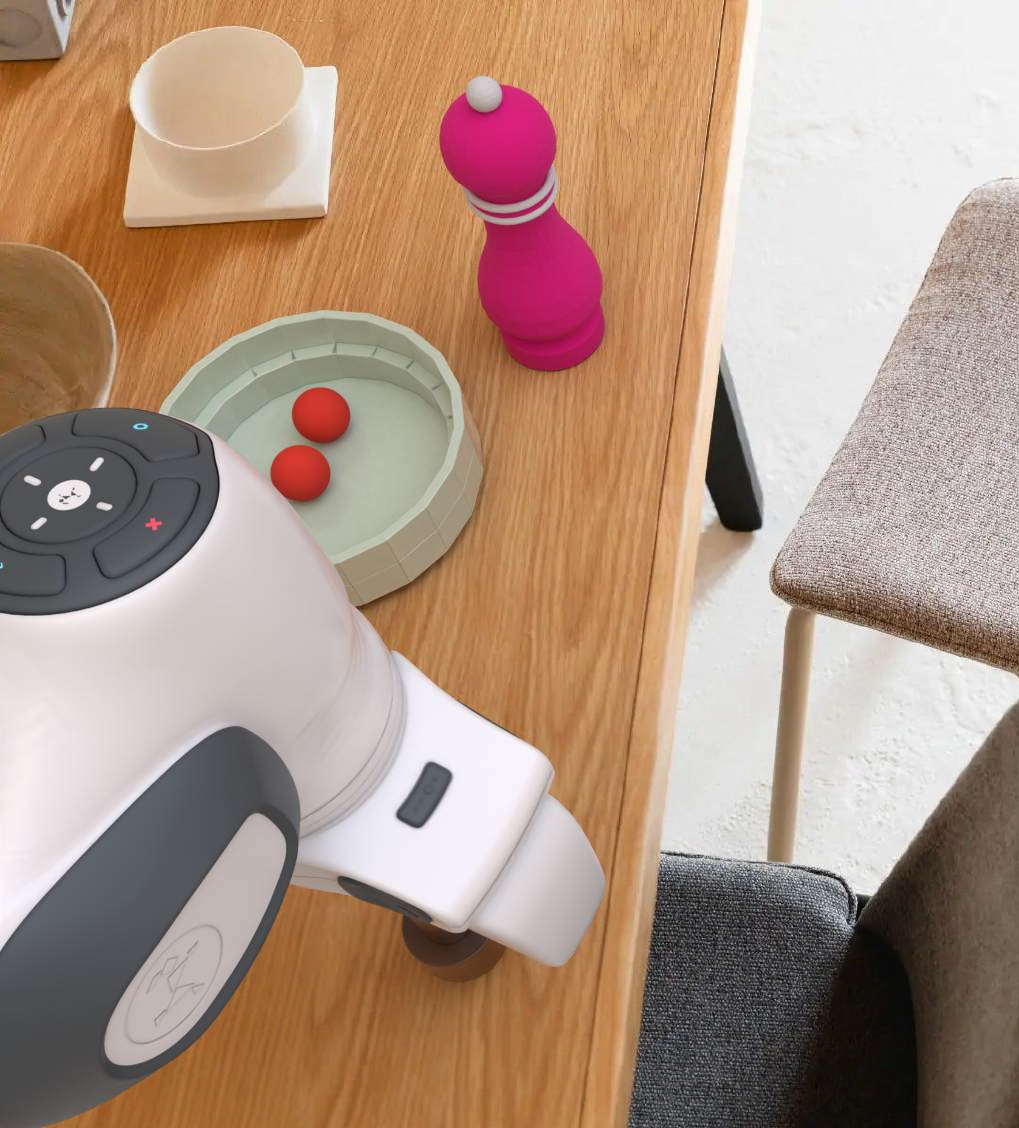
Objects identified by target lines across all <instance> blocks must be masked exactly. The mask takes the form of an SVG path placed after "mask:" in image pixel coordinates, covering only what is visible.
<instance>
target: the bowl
mask: <svg viewBox="0 0 1019 1128" xmlns="http://www.w3.org/2000/svg"><path fill="white" fill-rule="evenodd" d="M316 387H324V388H329V389H332V390H334V391H336V392H337V393H339V394H340V395H341V396H342V397H343V398H344V399H345V400H346V402H347V404H348V406H349V409H350V423H349V426H348V428H347V430H346V431H345V433H344V434H343V435H342V436H340V437H339V438H338V439H336V440H334V441H331V442H327V443H317V442H313V441H310V440H308V439H306V438H305V437H303V436H302V435H301V434H300V433H299V432H298V431H297V429H296V428H295V426H294V424H293V420H292V408H293V405H294V403H295V401H296V399H297V398H298V397H299V396H300V395H301V394H302V393H303V392H305V391H307V390H309V389H312V388H316ZM158 413H161V414H165V415H169V416H172V417H176V418H180V419H183V420H186V421H188V422H191V423H194V424H196V425H198V426H200V427H202V428H204V429H206V430H208V431H210V432H211V433H213V434H215V435H217V436H218V437H219V438H221V439H222V440H224V441H225V442H226V443H228V444H229V445H230V446H232V447H233V448H234V449H235V450H237V451H238V452H239V453H240V454H241V455H242V456H244V457H245V458H246V459H247V460H248V461H249V462H250V463H251V464H252V465H254V466H255V467H256V468H257V469H258V470H259V471H260V472H261V473H262V474H263V475H264V476H265V477H266V478H267V479H268V480H269V481H270V482H271V484H272V485H273V483H272V481H271V476H270V470H271V465H272V462H273V460H274V458H275V457H276V456H277V455H278V454H279V453H280V452H281V451H282V450H284V449H285V448H287V447H290V446H294V445H306V446H310V447H312V448H314V449H316V450H318V451H319V452H320V453H322V454H323V455H324V457H325V458H326V460H327V461H328V464H329V466H330V472H331V476H330V481H329V484H328V486H327V488H326V490H325V491H324V492H323V493H322V494H321V495H320V496H318V497H317V498H315V499H313V500H310V501H305V502H297V501H292V500H289V499H287V498H285V497H284V496H283V497H284V498H285V499H286V500H287V501H288V502H289V504H290V505H291V506H292V507H293V508H294V510H295V511H296V512H297V513H298V515H299V516H300V517H301V519H302V520H303V521H304V522H305V524H306V525H307V526H308V528H309V529H310V531H311V532H312V534H313V535H314V536H315V538H316V539H317V541H318V542H319V544H320V545H321V547H322V548H323V550H324V551H325V553H326V554H327V556H328V557H329V558H330V560H331V561H332V563H333V565H334V566H335V568H336V570H337V572H338V573H339V575H340V577H341V579H342V581H343V583H344V586H345V588H346V591H347V594H348V598H349V602H350V603H351V604H352V605H353V606H354V607H356V608H357V607H361V606H364V605H367V604H369V603H371V602H373V601H375V600H377V599H380V598H382V597H383V596H386V595H388V594H390V593H392V592H394V591H396V590H398V589H401V588H403V587H404V586H407V585H408V584H410V583H413V581H415V579H417V578H418V577H419V576H420V575H421V574H423V573H424V572H425V571H426V570H427V569H429V567H431V566H433V564H434V563H436V561H438V560H439V559H440V558H442V557H443V556H444V555H445V554H446V553H447V552H448V551H449V550H450V548H451V547H452V545H453V544H454V543H455V541H456V540H457V538H458V536H459V535H460V533H461V531H462V530H463V529H464V527H465V525H466V524H467V523H468V521H469V519H470V518H471V516H472V515H473V512H474V511H475V507H476V503H477V498H478V494H479V491H480V488H481V483H482V479H483V477H484V471H485V470H484V462H483V453H482V443H481V435H480V432H479V429H478V427H477V424H476V422H475V420H474V417H473V415H472V413H471V410H470V407H469V404H468V402H467V400H466V398H465V394H464V393H463V389H462V388H461V385H460V383H459V382H458V380H457V378H456V376H455V374H454V373H453V371H452V369H451V367H450V366H449V363H448V362H447V360H446V358H445V357H444V355H443V354H442V352H441V351H440V350H438V349H437V348H436V347H434V346H433V345H432V344H431V343H429V341H428V340H426V339H425V338H423V337H422V336H421V335H420V334H419V333H417V332H416V331H415V330H413V329H412V328H410V327H408V326H406V325H403V324H402V323H401V324H400V323H398V322H395V321H392V320H390V319H386V318H384V317H381V316H379V315H376V314H373V313H369V312H358V311H357V312H356V311H343V310H334V309H333V310H332V309H320V310H314V311H307V312H303V313H297V314H291V315H286V316H281V317H280V316H279V317H276V318H273V319H271V320H269V321H266V322H264V323H262V324H259V325H257V326H255V327H252V328H250V329H248V330H245V331H242V332H240V333H238V334H235V335H234V336H231V337H229V338H228V339H227V340H226V341H224V342H223V343H222V344H221V343H220V344H219V345H218V346H217V347H215V349H213V350H212V351H210V352H209V353H208V354H206V355H205V356H203V357H202V358H201V359H199V360H198V361H196V363H194V364H193V365H192V366H191V367H189V369H188V370H187V371H186V373H184V375H183V377H182V378H181V379H180V380H179V382H178V383H176V385H175V386H174V387H173V389H172V390H171V391H170V392H169V393H168V395H167V396H166V398H165V399H164V400H163V402H161V406H160V408H159V410H158ZM273 486H274V485H273Z"/></svg>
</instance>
